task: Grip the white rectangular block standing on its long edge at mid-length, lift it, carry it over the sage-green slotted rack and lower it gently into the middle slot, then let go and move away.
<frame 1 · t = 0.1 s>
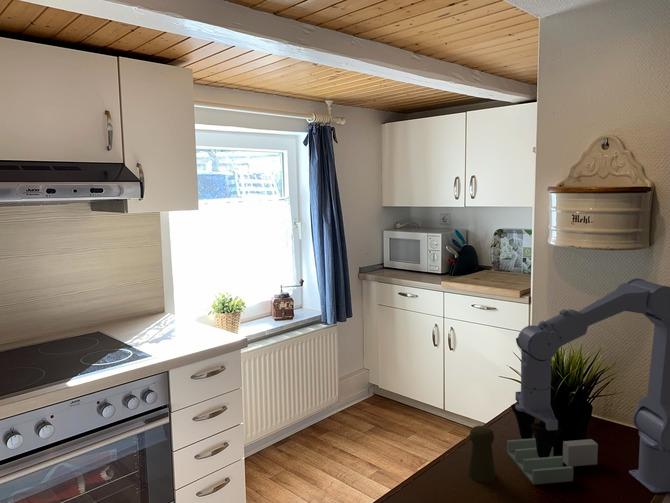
hand: (534, 447, 108), 10 cm above the table, tool pointing down, fingers open, 7 cm apart
rack: (538, 466, 119), on the table
white rectangular block: (579, 463, 120), on the table
dark green pepper mill: (481, 475, 117), on the table
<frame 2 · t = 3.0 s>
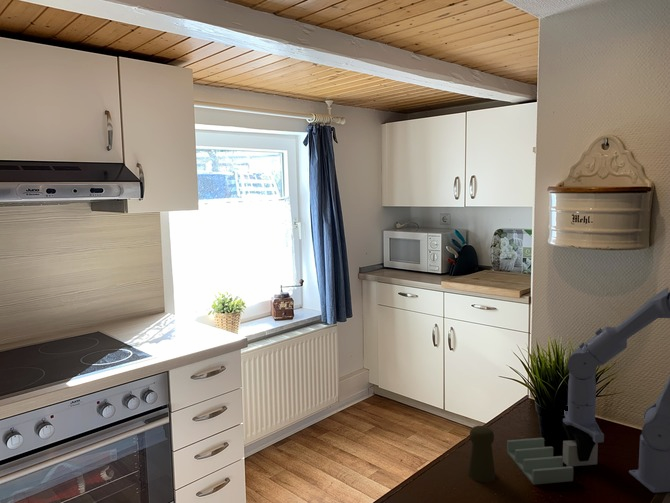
hand: (579, 456, 120), 1 cm above the table, tool pointing down, fingers closed on white rectangular block, 2 cm apart
white rectangular block: (579, 462, 120), on the table, touching gripper
everything else where it was.
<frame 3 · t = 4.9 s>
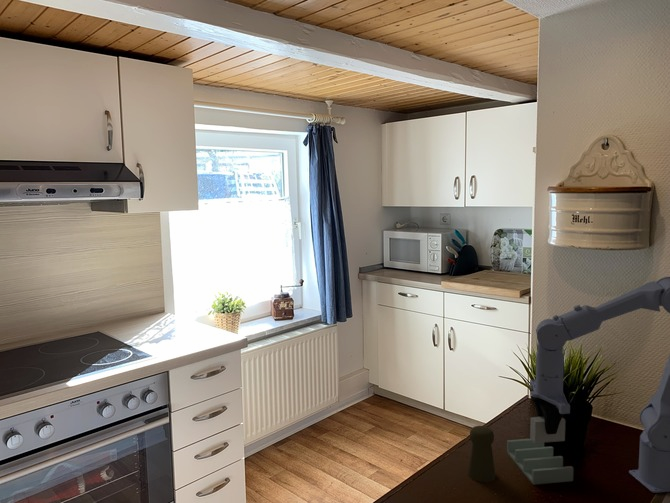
hand: (547, 430, 118), 9 cm above the table, tool pointing down, fingers closed on white rectangular block, 2 cm apart
white rectangular block: (547, 439, 119), point 6 cm above the table, touching gripper
everything else where it was.
when the fingers open (4 cm above the table, at t = 7.2 s): white rectangular block stays where it is, resting on rack.
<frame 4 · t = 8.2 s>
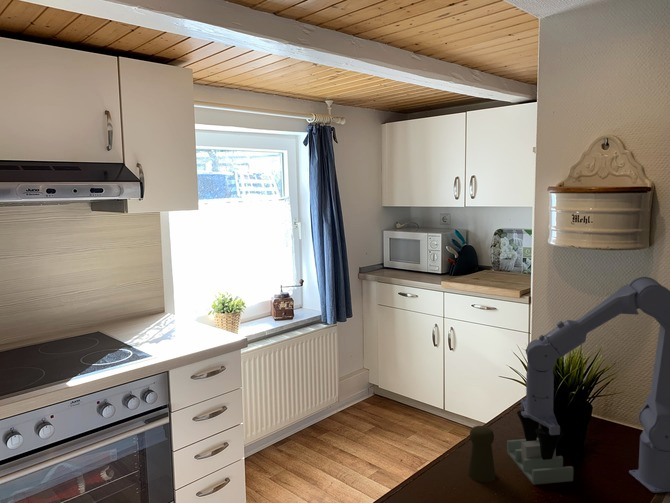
hand: (538, 450, 119), 4 cm above the table, tool pointing down, fingers open, 7 cm apart
white rectangular block: (538, 463, 119), point 1 cm above the table, touching rack
everything else where it was.
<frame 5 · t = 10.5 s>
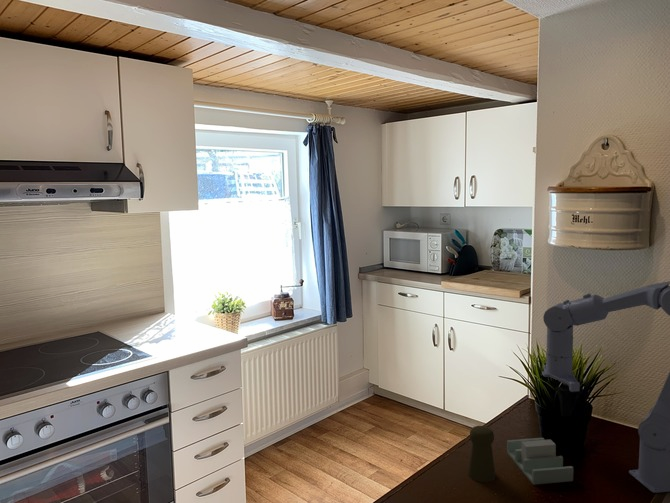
hand: (558, 408, 125), 10 cm above the table, tool pointing down, fingers open, 7 cm apart
nothing on the table moved.
at the end: white rectangular block 0.1 cm off-centre on the rack, point 0.6 cm above the rack's base; white rectangular block tilted 0°; the gripper is holding nothing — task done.
